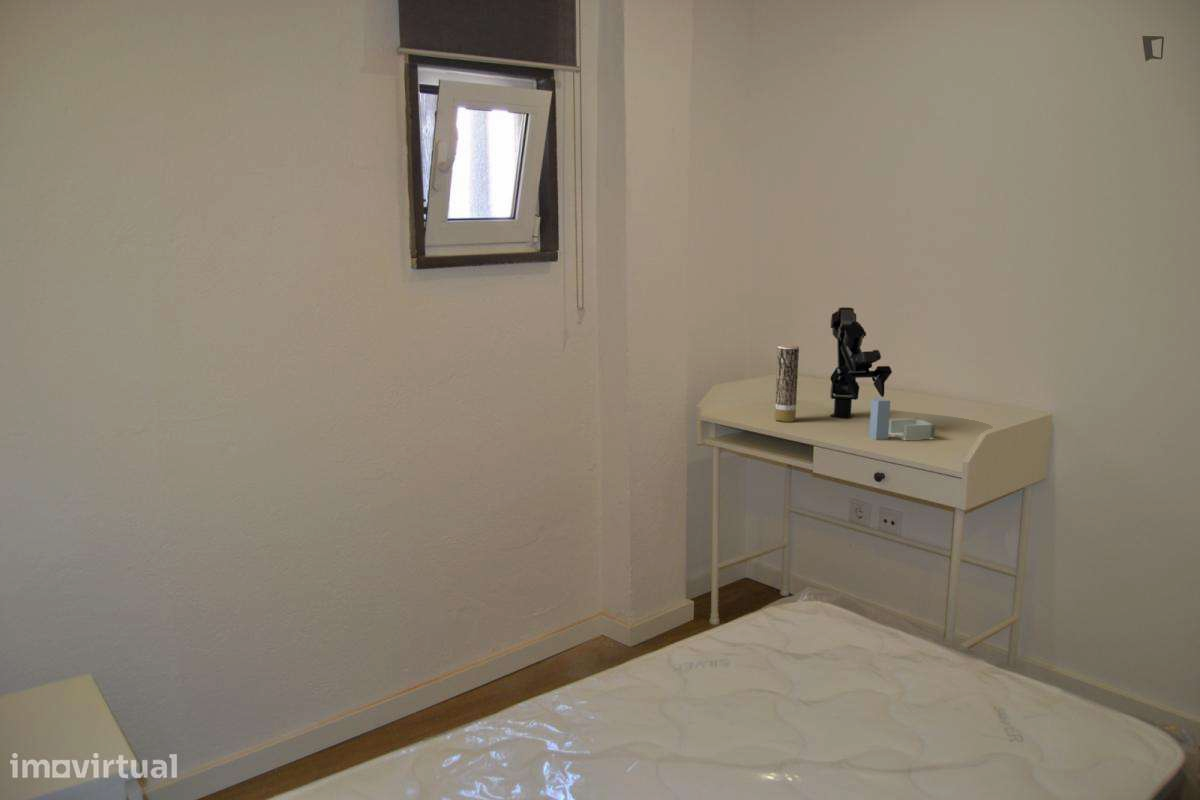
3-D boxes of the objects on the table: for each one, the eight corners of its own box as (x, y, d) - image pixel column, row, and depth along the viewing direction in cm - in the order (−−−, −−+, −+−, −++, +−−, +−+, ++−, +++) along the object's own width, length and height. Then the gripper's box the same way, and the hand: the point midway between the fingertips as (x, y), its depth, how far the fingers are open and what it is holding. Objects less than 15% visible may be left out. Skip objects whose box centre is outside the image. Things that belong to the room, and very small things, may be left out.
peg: (869, 437, 268) (871, 398, 266) (880, 436, 269) (883, 398, 267) (875, 440, 265) (878, 401, 262) (887, 439, 265) (890, 400, 263)
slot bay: (904, 440, 264) (905, 425, 263) (887, 433, 273) (888, 419, 272) (933, 439, 266) (935, 424, 265) (915, 432, 275) (917, 418, 274)
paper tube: (796, 419, 293) (800, 345, 289) (794, 423, 287) (797, 347, 282) (776, 417, 296) (779, 344, 291) (773, 421, 289) (776, 346, 285)
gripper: (837, 341, 271) (852, 382, 262) (891, 340, 275) (908, 380, 266) (823, 363, 280) (838, 403, 271) (876, 361, 284) (892, 401, 275)
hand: (869, 396), depth 271 cm, fingers open, 9 cm apart
